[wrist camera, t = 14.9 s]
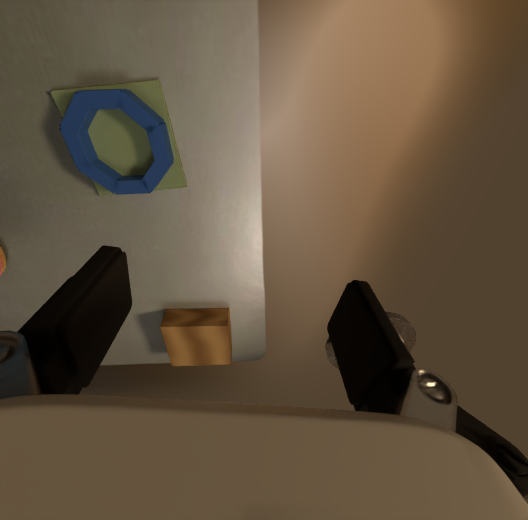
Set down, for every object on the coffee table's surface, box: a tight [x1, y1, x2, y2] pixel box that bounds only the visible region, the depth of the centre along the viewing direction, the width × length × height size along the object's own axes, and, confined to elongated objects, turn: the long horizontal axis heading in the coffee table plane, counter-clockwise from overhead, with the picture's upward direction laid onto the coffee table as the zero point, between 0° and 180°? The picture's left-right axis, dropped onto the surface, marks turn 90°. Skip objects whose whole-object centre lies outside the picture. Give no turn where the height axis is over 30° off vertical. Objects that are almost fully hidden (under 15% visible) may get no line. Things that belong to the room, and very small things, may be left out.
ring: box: [60, 89, 174, 194], centre depth 28 cm, size 10×10×2 cm
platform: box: [160, 308, 232, 366], centre depth 46 cm, size 11×11×4 cm
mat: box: [50, 80, 187, 196], centre depth 29 cm, size 11×11×1 cm
